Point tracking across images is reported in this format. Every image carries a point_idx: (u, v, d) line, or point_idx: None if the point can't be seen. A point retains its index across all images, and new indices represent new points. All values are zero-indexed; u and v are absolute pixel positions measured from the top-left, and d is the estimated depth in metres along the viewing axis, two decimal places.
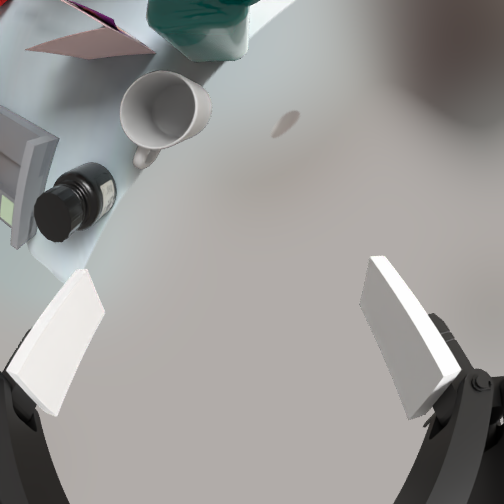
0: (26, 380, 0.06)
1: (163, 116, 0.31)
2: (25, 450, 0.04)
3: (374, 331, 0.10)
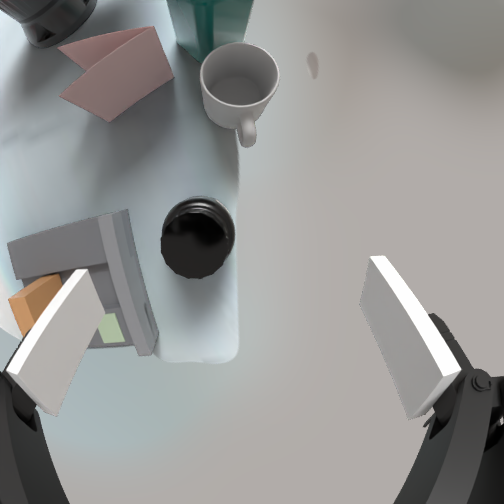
0: (26, 380, 0.06)
1: None
2: (25, 450, 0.04)
3: (374, 331, 0.10)
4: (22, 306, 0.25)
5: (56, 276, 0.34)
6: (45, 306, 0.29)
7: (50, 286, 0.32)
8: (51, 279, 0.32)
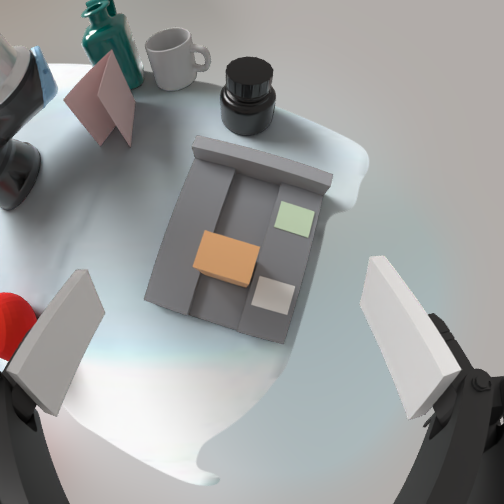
0: (26, 380, 0.06)
1: None
2: (25, 450, 0.04)
3: (374, 332, 0.10)
4: (212, 245, 0.28)
5: None
6: None
7: None
8: None
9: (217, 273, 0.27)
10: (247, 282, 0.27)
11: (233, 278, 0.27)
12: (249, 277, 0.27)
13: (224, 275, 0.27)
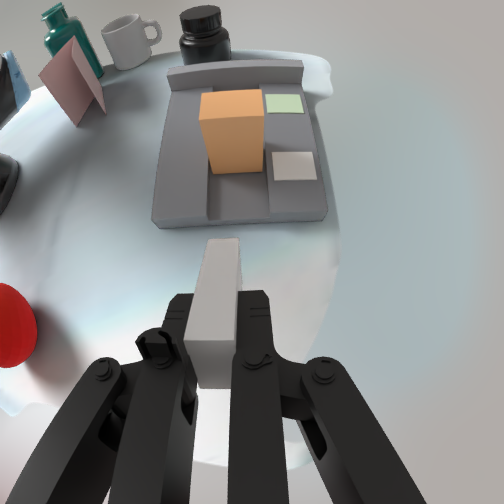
0: None
1: None
2: (177, 457, 0.05)
3: None
4: (213, 100, 0.23)
5: None
6: None
7: None
8: None
9: (227, 116, 0.23)
10: (261, 114, 0.23)
11: (245, 115, 0.23)
12: (262, 110, 0.23)
13: (235, 116, 0.23)
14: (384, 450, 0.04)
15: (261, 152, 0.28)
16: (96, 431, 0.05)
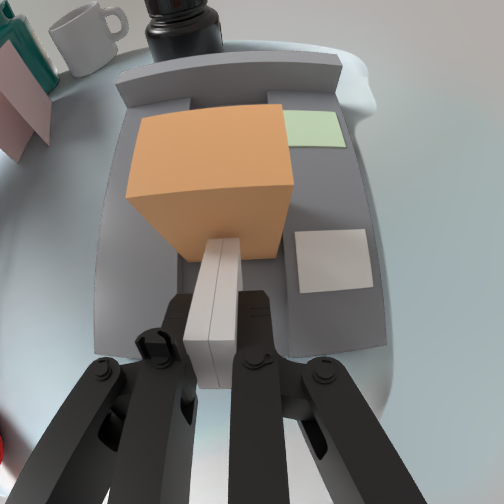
0: None
1: None
2: (176, 456, 0.05)
3: None
4: (165, 136, 0.10)
5: None
6: None
7: None
8: None
9: (195, 187, 0.09)
10: (287, 181, 0.09)
11: (244, 184, 0.09)
12: (287, 168, 0.09)
13: (216, 185, 0.09)
14: (385, 450, 0.04)
15: (277, 239, 0.15)
16: (95, 430, 0.05)
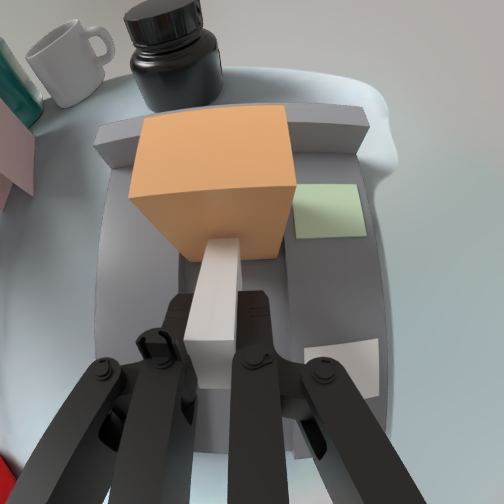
0: None
1: None
2: (177, 456, 0.05)
3: None
4: (168, 136, 0.10)
5: None
6: None
7: None
8: None
9: (198, 188, 0.09)
10: (290, 182, 0.09)
11: (247, 185, 0.09)
12: (290, 169, 0.09)
13: (219, 186, 0.09)
14: (384, 450, 0.04)
15: (279, 240, 0.15)
16: (96, 430, 0.05)
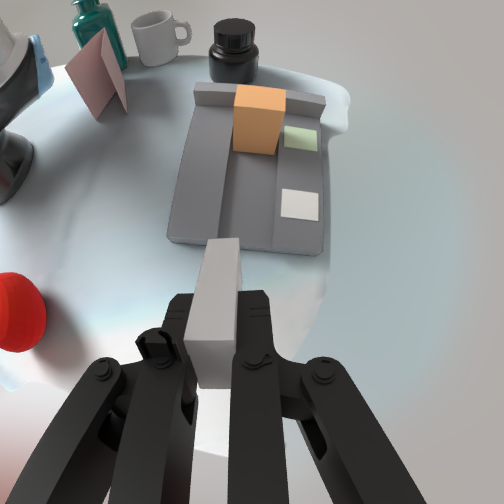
0: None
1: None
2: (177, 457, 0.05)
3: None
4: (247, 91, 0.29)
5: None
6: None
7: None
8: None
9: (256, 107, 0.28)
10: (283, 110, 0.28)
11: (271, 109, 0.28)
12: (284, 107, 0.29)
13: (262, 107, 0.28)
14: (384, 450, 0.04)
15: (276, 139, 0.34)
16: (96, 431, 0.05)
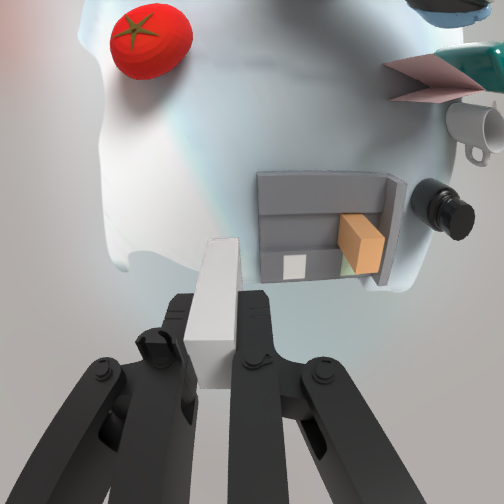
0: None
1: None
2: (177, 457, 0.05)
3: None
4: (376, 246, 0.37)
5: None
6: None
7: None
8: None
9: (359, 255, 0.38)
10: (356, 273, 0.39)
11: (357, 264, 0.39)
12: (359, 273, 0.39)
13: (358, 259, 0.38)
14: (384, 450, 0.04)
15: (344, 253, 0.44)
16: (96, 430, 0.05)
